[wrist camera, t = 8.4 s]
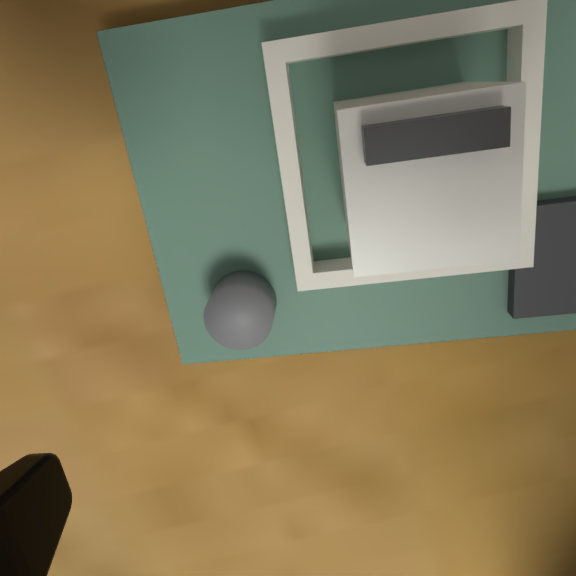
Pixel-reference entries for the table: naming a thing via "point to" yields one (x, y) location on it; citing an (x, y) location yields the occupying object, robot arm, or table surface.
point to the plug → (432, 176)
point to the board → (333, 169)
